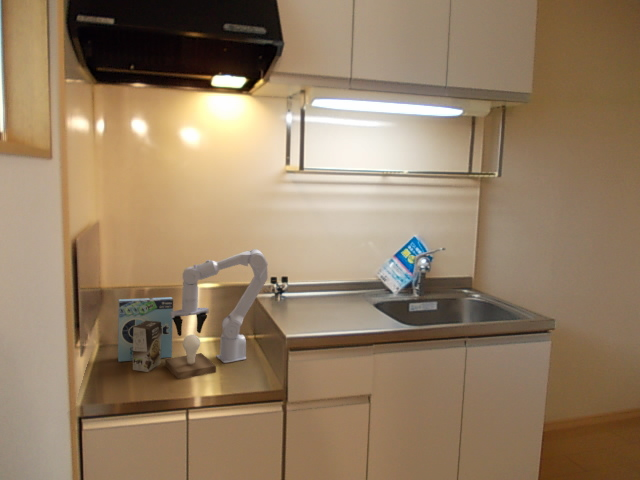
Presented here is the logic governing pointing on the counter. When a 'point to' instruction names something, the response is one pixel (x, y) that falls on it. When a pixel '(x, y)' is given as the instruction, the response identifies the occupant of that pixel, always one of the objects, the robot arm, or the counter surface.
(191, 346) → the lightbulb
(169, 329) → the light blue product box
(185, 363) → the walnut base
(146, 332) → the coffee box
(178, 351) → the counter surface
